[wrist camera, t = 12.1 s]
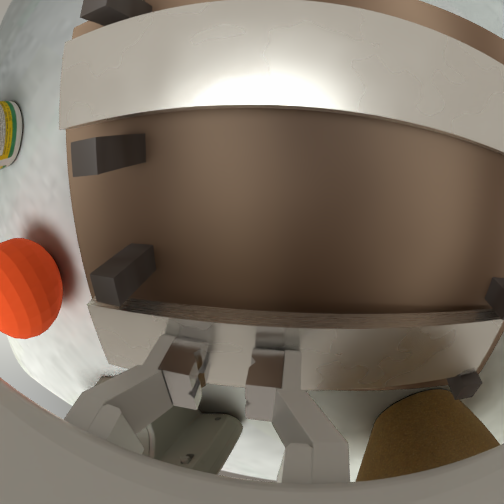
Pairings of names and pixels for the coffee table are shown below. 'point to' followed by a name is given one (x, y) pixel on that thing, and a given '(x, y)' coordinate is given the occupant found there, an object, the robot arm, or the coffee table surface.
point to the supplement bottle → (9, 132)
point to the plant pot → (423, 436)
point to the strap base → (291, 203)
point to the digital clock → (190, 438)
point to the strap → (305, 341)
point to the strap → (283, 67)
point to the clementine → (28, 288)
